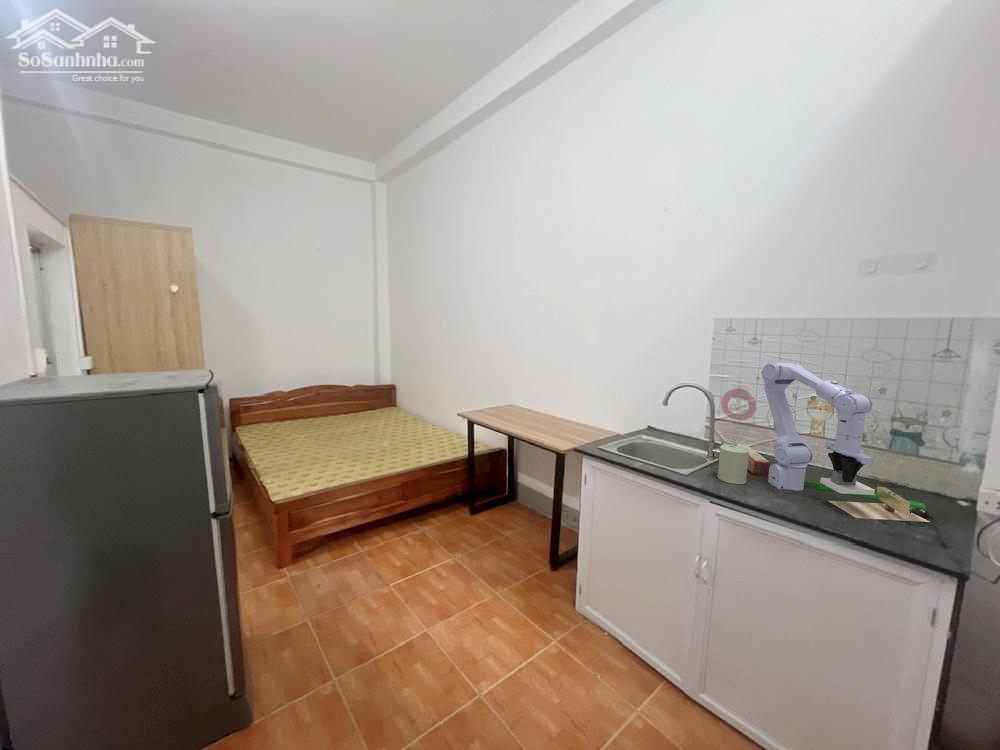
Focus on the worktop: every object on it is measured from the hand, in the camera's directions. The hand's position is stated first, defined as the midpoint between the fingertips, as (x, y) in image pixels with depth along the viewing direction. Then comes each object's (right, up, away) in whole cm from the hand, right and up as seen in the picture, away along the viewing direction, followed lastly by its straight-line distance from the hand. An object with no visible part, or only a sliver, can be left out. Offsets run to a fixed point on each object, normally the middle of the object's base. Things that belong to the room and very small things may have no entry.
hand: (843, 479), depth 115 cm
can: (-17, -7, +27) cm, 33 cm away
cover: (+1, -3, 0) cm, 3 cm away
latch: (+13, -7, -1) cm, 15 cm away
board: (+9, -11, 0) cm, 14 cm away
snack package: (-2, -6, +40) cm, 41 cm away
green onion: (+13, -10, +10) cm, 19 cm away
